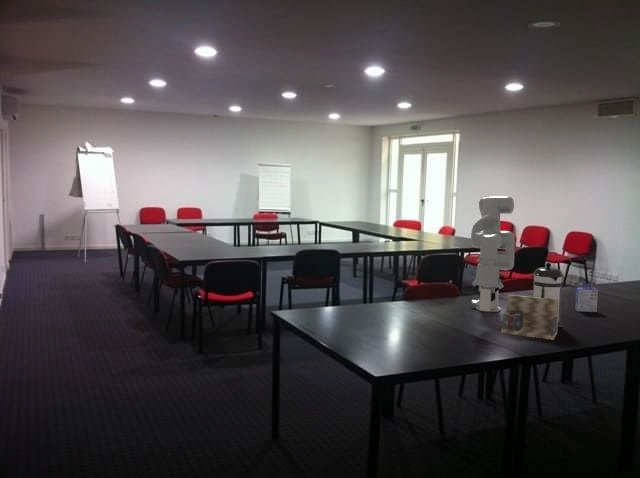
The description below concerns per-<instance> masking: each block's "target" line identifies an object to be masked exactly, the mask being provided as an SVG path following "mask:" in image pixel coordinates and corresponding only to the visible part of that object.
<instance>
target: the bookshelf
mask: <svg viewBox="0 0 640 478" xmlns="http://www.w3.org/2000/svg"><path fill="white" fill-rule="evenodd" d="M506 295H507V296H506V298H507V300H506V311H504V312H502V323H501V325H502V326H501V330H500V333H502V334H509V335H516V336H523V337H529V338H535V337H536V338H535V339H542V338H543V339H544V340H549V339H550V340H552V341H554V340H555V338H556V336H557V335H558V328H559V327H558V325H559V324H558V323H559V322H558V308H559V300H556V299H547V298H537V297H533V296H525V295H516V294H506Z"/></svg>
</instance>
